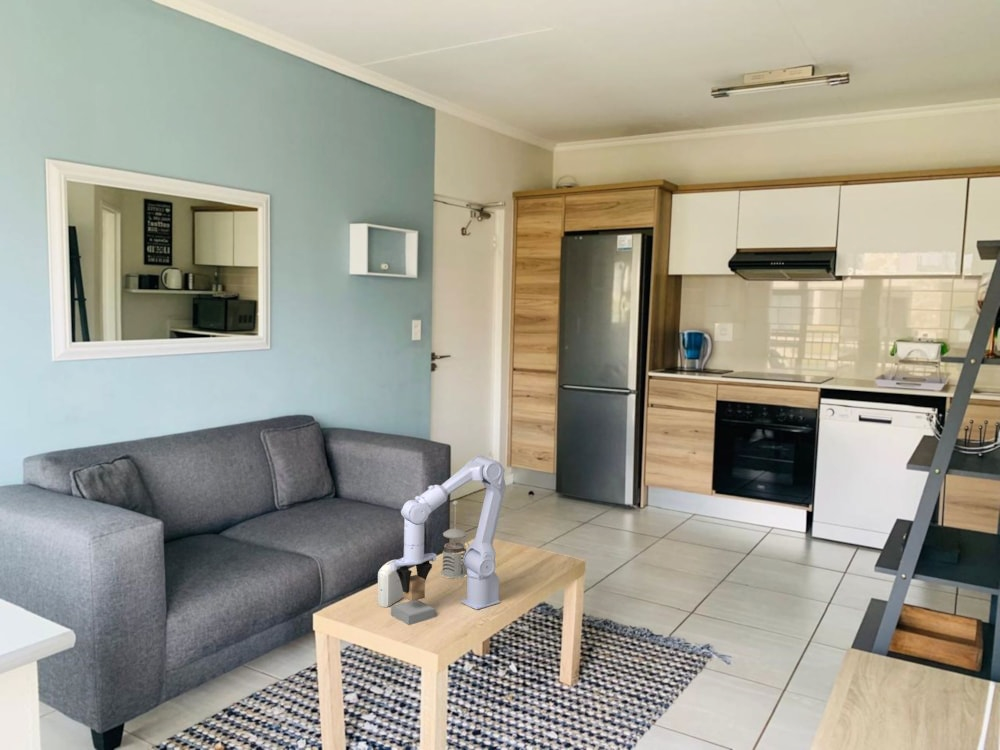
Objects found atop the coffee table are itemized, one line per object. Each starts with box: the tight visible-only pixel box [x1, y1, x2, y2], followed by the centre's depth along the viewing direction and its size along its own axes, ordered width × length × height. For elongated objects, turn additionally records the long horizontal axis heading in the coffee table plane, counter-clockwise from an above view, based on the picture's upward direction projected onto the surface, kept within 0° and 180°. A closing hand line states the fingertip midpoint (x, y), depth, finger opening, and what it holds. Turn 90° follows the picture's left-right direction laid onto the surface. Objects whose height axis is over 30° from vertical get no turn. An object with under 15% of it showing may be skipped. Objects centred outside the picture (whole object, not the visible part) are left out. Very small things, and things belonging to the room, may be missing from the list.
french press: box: [440, 500, 470, 578], centre depth 247 cm, size 10×12×25 cm
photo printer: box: [377, 559, 404, 608], centre depth 222 cm, size 10×4×12 cm, turn 156°
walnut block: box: [403, 574, 426, 602], centre depth 212 cm, size 4×4×6 cm
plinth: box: [390, 599, 436, 626], centre depth 212 cm, size 9×9×2 cm
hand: (413, 589), depth 212 cm, fingers closed on walnut block, 4 cm apart
